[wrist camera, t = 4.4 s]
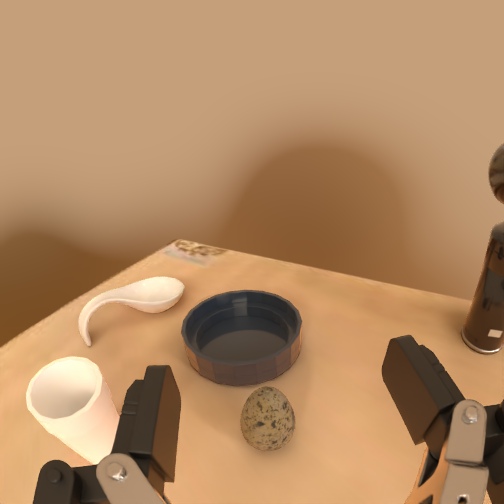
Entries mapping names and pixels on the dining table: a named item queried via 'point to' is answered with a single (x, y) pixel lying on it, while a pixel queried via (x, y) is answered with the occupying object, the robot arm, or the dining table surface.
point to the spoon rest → (135, 299)
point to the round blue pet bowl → (242, 337)
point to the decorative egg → (267, 419)
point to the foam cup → (75, 406)
